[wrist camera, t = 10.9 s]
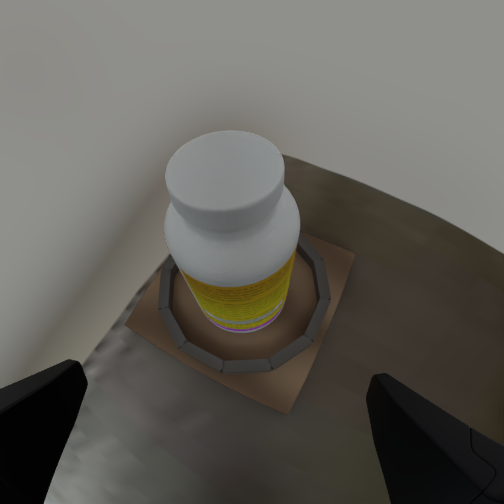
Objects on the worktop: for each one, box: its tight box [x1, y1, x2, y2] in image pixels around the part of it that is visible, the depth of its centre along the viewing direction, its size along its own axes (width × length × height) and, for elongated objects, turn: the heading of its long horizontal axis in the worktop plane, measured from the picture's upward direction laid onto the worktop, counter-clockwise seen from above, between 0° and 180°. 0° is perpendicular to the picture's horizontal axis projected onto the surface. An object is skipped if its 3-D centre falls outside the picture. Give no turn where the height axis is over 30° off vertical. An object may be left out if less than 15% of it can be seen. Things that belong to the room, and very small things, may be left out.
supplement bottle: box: [164, 130, 300, 333], centre depth 16 cm, size 7×7×13 cm
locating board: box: [125, 231, 356, 415], centre depth 22 cm, size 14×14×3 cm
